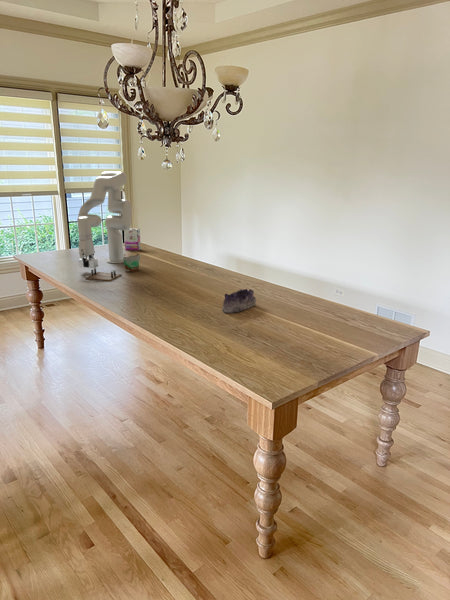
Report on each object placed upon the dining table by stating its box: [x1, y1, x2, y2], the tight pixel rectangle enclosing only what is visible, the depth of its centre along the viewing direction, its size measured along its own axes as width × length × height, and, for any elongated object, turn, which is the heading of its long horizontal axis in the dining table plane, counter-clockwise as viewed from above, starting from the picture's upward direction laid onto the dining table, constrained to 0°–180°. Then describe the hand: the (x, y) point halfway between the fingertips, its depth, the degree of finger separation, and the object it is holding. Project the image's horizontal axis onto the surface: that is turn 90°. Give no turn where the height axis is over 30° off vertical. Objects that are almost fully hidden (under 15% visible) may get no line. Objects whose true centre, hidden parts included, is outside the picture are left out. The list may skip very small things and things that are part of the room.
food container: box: [123, 253, 141, 273], centre depth 276 cm, size 12×6×10 cm, turn 143°
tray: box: [85, 271, 122, 283], centre depth 262 cm, size 14×16×1 cm
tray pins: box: [90, 267, 117, 278], centre depth 261 cm, size 4×14×4 cm, turn 74°
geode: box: [222, 288, 257, 315], centre depth 211 cm, size 20×12×10 cm, turn 143°
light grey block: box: [78, 257, 99, 269], centre depth 271 cm, size 5×10×5 cm, turn 74°
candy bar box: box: [123, 227, 142, 251], centre depth 338 cm, size 11×5×16 cm, turn 81°
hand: (88, 265), depth 272 cm, fingers closed on light grey block, 5 cm apart
